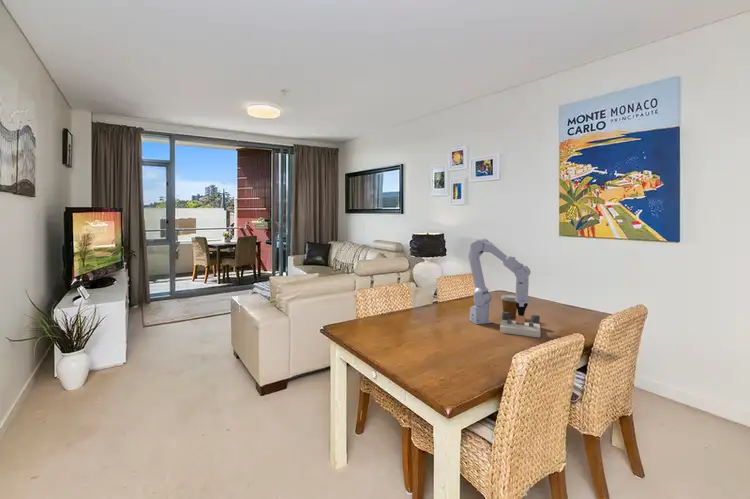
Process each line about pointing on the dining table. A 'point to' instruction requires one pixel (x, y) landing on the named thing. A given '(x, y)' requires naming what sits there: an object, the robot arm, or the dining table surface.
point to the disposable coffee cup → (509, 304)
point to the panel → (520, 328)
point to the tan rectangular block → (520, 320)
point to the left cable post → (505, 315)
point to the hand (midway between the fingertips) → (521, 317)
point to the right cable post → (535, 319)
